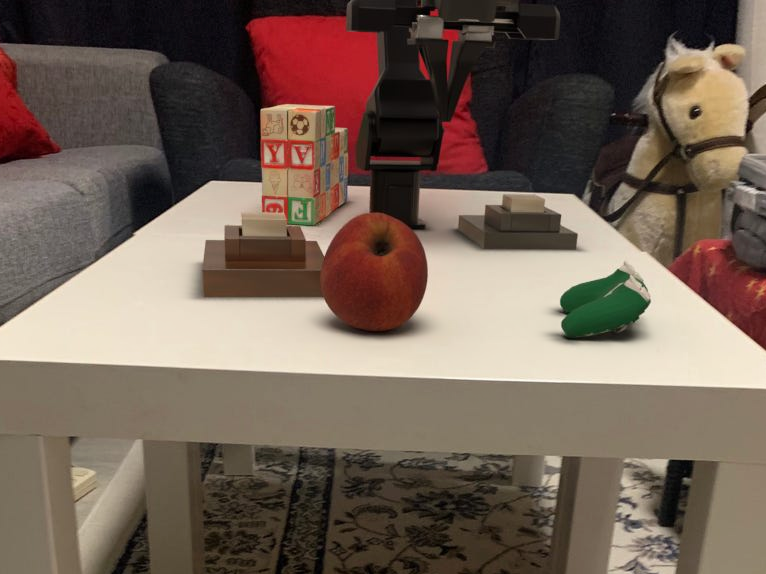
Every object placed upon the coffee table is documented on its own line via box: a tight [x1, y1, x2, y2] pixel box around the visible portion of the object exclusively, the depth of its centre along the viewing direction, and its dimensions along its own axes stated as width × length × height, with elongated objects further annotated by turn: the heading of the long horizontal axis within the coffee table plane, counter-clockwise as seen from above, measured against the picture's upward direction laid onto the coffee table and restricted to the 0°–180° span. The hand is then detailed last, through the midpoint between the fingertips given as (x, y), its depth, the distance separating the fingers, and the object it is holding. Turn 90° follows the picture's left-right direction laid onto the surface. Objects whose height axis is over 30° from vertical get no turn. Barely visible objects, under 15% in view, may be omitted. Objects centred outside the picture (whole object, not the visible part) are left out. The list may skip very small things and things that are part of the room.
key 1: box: [240, 211, 288, 236], centre depth 78 cm, size 4×4×2 cm
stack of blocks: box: [259, 103, 349, 226], centre depth 114 cm, size 21×6×12 cm, turn 172°
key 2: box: [501, 193, 546, 213], centre depth 99 cm, size 4×4×2 cm
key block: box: [201, 224, 325, 298], centre depth 79 cm, size 13×10×4 cm
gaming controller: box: [559, 259, 652, 339], centre depth 68 cm, size 9×4×6 cm
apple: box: [320, 212, 429, 332], centre depth 65 cm, size 7×8×8 cm
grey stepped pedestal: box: [457, 204, 579, 251], centre depth 102 cm, size 12×10×4 cm
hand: (445, 122), depth 88 cm, fingers closed
